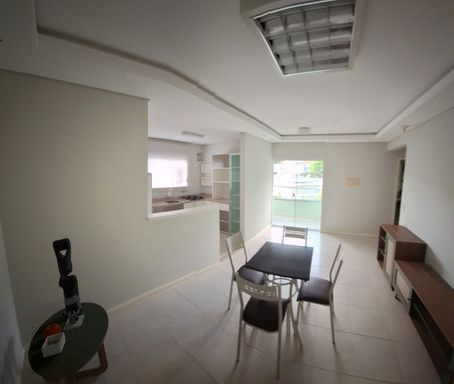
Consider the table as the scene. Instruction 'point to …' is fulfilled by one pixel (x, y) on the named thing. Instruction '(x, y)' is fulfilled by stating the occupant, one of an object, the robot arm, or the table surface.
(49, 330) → the apple
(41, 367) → the table surface
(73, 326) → the lid
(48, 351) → the storage box
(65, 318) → the robot arm
